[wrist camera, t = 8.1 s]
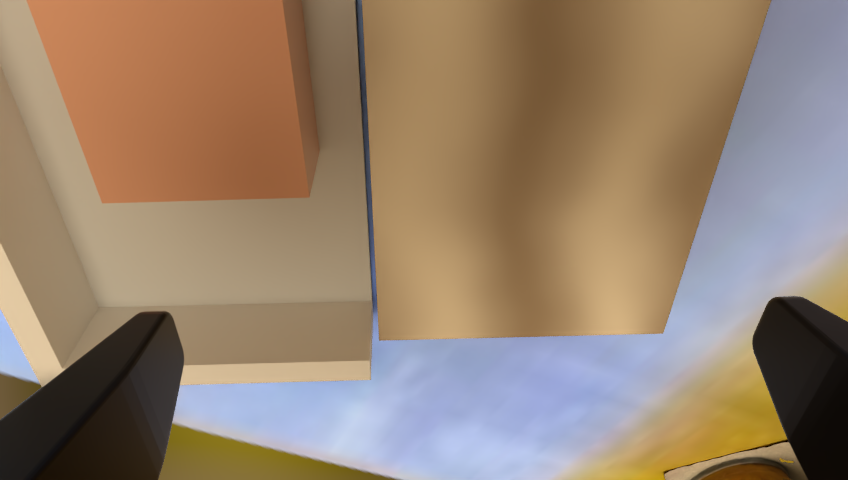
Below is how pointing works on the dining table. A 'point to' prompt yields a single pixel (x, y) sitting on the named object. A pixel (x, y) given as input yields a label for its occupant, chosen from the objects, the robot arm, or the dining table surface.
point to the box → (187, 236)
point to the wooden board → (544, 158)
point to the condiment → (745, 466)
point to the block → (186, 96)
